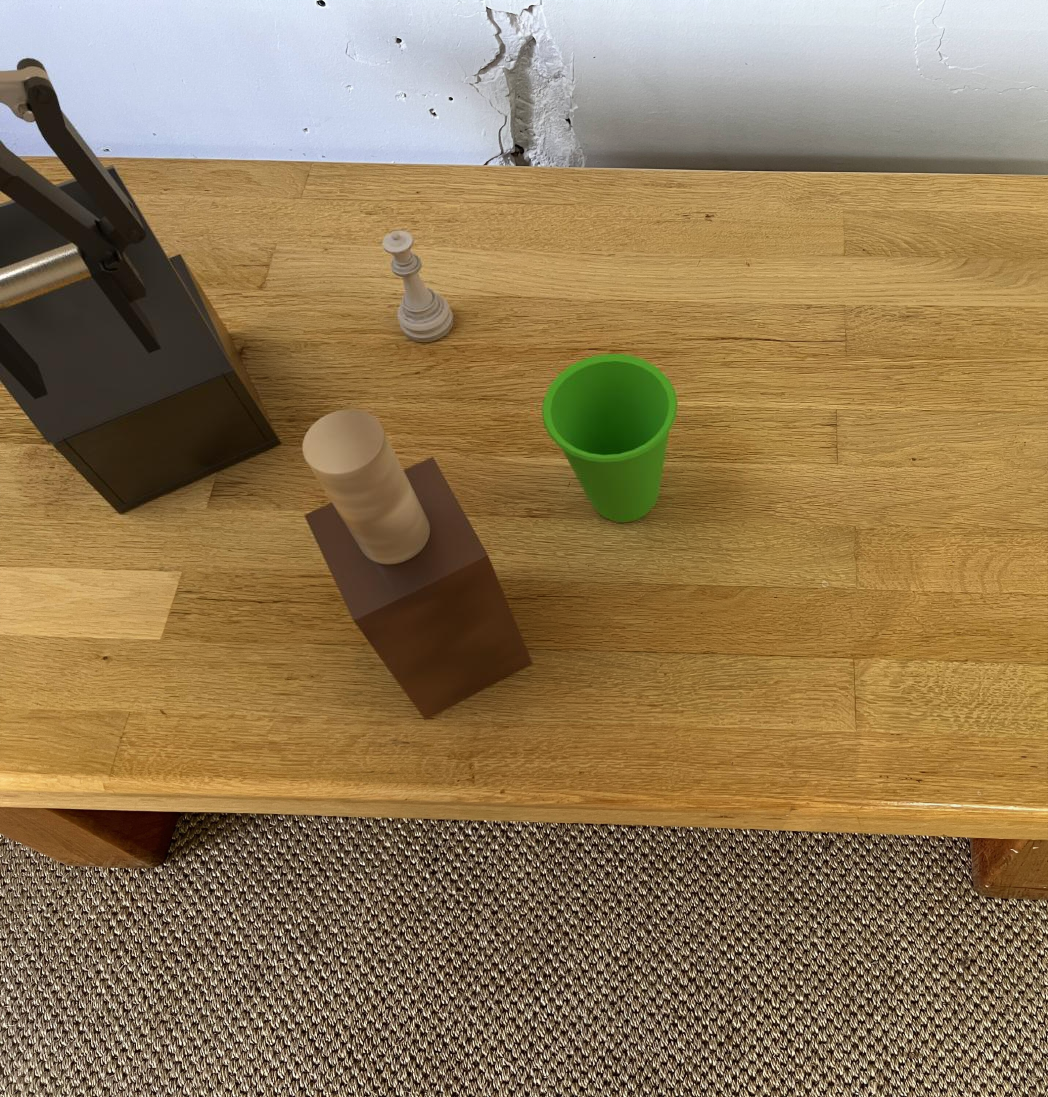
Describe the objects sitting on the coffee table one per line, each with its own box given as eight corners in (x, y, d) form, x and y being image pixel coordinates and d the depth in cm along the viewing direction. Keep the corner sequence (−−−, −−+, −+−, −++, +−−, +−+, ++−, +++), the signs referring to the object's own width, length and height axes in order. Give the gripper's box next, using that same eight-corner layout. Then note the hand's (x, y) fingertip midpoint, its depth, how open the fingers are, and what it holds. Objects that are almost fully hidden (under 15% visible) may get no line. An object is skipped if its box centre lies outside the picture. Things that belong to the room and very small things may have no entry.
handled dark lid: (-105, 239, 60) (-123, 286, 54) (113, 164, 63) (120, 200, 57) (48, 438, 69) (48, 498, 63) (231, 364, 72) (248, 414, 66)
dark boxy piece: (76, 393, 83) (9, 317, 75) (229, 332, 86) (180, 253, 78) (119, 514, 77) (52, 445, 69) (281, 444, 80) (234, 370, 73)
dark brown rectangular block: (425, 720, 68) (353, 621, 56) (380, 628, 72) (303, 514, 59) (533, 663, 71) (488, 554, 58) (485, 577, 74) (432, 456, 61)
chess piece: (464, 316, 87) (434, 224, 78) (432, 350, 85) (398, 260, 76) (423, 297, 88) (389, 205, 79) (390, 331, 86) (352, 240, 77)
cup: (672, 553, 75) (663, 468, 66) (552, 537, 76) (526, 450, 66) (693, 455, 80) (688, 361, 70) (580, 440, 80) (559, 345, 71)
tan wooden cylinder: (374, 576, 57) (318, 486, 49) (349, 524, 59) (290, 429, 51) (441, 544, 58) (396, 451, 50) (414, 494, 60) (366, 396, 52)
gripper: (8, -118, 46) (227, 261, 66) (-479, 16, 41) (-84, 382, 61) (47, -37, 43) (265, 336, 63) (-475, 118, 38) (-60, 470, 58)
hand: (93, 358), depth 62 cm, fingers closed on handled dark lid, 6 cm apart
